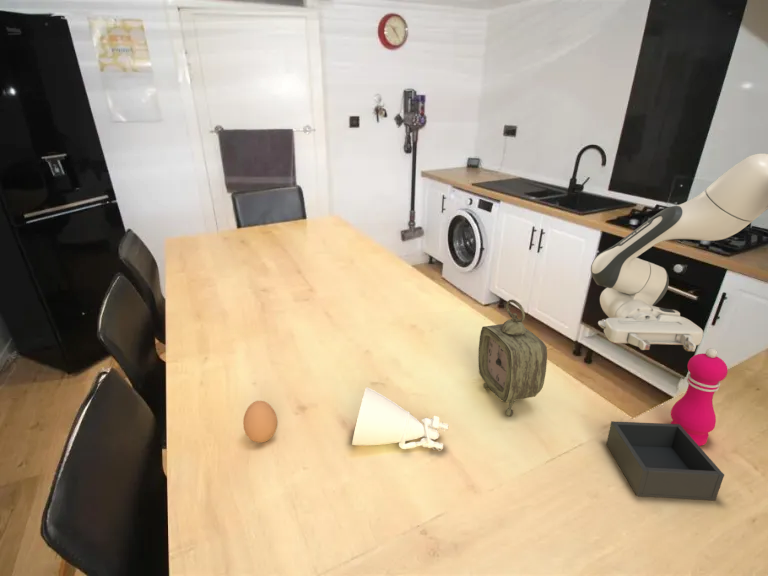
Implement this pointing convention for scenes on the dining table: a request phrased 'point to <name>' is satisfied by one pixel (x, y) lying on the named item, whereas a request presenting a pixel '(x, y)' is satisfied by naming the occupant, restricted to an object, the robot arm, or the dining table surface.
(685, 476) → the bin
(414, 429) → the rocket engine
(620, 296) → the robot arm
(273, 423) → the egg
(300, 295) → the dining table surface
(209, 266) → the dining table surface
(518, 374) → the tabletop clock
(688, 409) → the pepper mill
